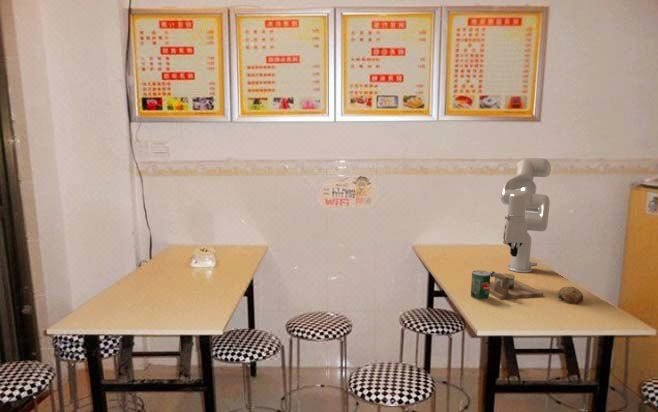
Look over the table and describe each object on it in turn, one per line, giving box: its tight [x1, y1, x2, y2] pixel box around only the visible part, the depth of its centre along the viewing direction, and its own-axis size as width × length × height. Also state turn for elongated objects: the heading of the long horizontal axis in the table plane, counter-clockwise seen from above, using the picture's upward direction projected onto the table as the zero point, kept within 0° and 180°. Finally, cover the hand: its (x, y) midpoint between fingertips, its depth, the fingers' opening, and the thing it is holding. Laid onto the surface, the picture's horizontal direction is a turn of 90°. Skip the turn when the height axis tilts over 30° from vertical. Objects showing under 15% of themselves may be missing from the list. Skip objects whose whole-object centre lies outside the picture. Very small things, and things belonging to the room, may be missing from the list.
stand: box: [489, 272, 544, 300], centre depth 219 cm, size 22×20×10 cm
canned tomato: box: [470, 270, 491, 301], centre depth 210 cm, size 8×8×11 cm
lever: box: [489, 271, 516, 289], centre depth 225 cm, size 16×6×5 cm, turn 16°
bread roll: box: [557, 286, 584, 305], centre depth 208 cm, size 10×10×8 cm
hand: (513, 255), depth 228 cm, fingers closed
